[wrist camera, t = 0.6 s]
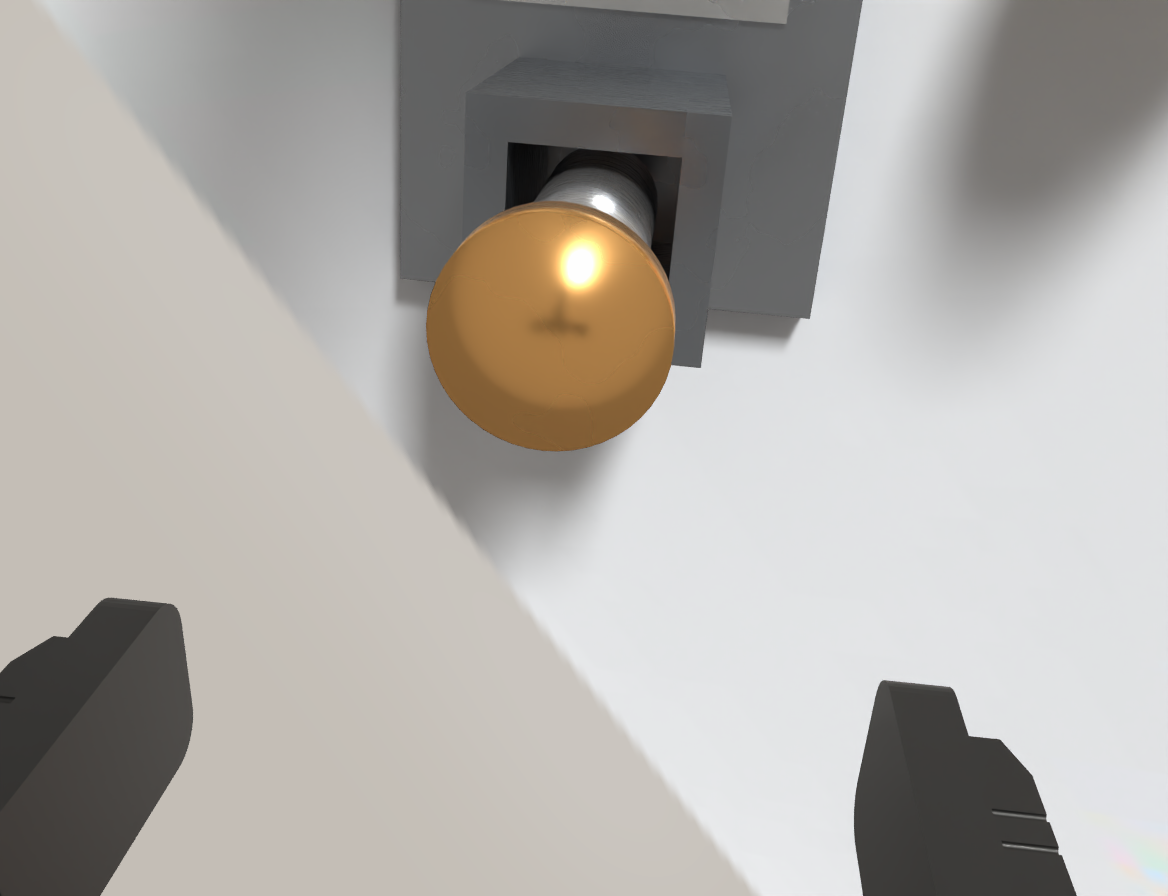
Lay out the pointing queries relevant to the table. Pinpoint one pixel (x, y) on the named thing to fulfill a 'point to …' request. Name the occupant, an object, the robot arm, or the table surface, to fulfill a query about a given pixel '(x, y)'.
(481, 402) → the plunger
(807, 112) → the grey assembly fixture
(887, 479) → the table surface
